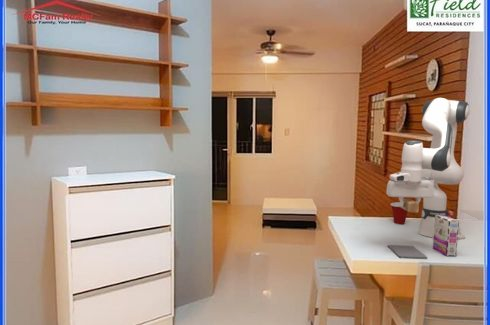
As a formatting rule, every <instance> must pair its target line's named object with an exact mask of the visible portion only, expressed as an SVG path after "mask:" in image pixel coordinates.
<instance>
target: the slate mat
mask: <svg viewBox="0 0 490 325" xmlns="http://www.w3.org/2000/svg"><path fill="white" fill-rule="evenodd" d="M386 247H388V249H390V250H391V252H393V253H394V254H395V255H396V257H398V258H399V259H413V260H414V259H416V260H417V259H418V260H419V259H420V260H428V257H427V256H426V255H425V254H424V253H423V252H421V251H420V250H419V249H418V248H416V247H415V246H414V245H406V244H405V245H399V244H387V246H386Z"/></svg>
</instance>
